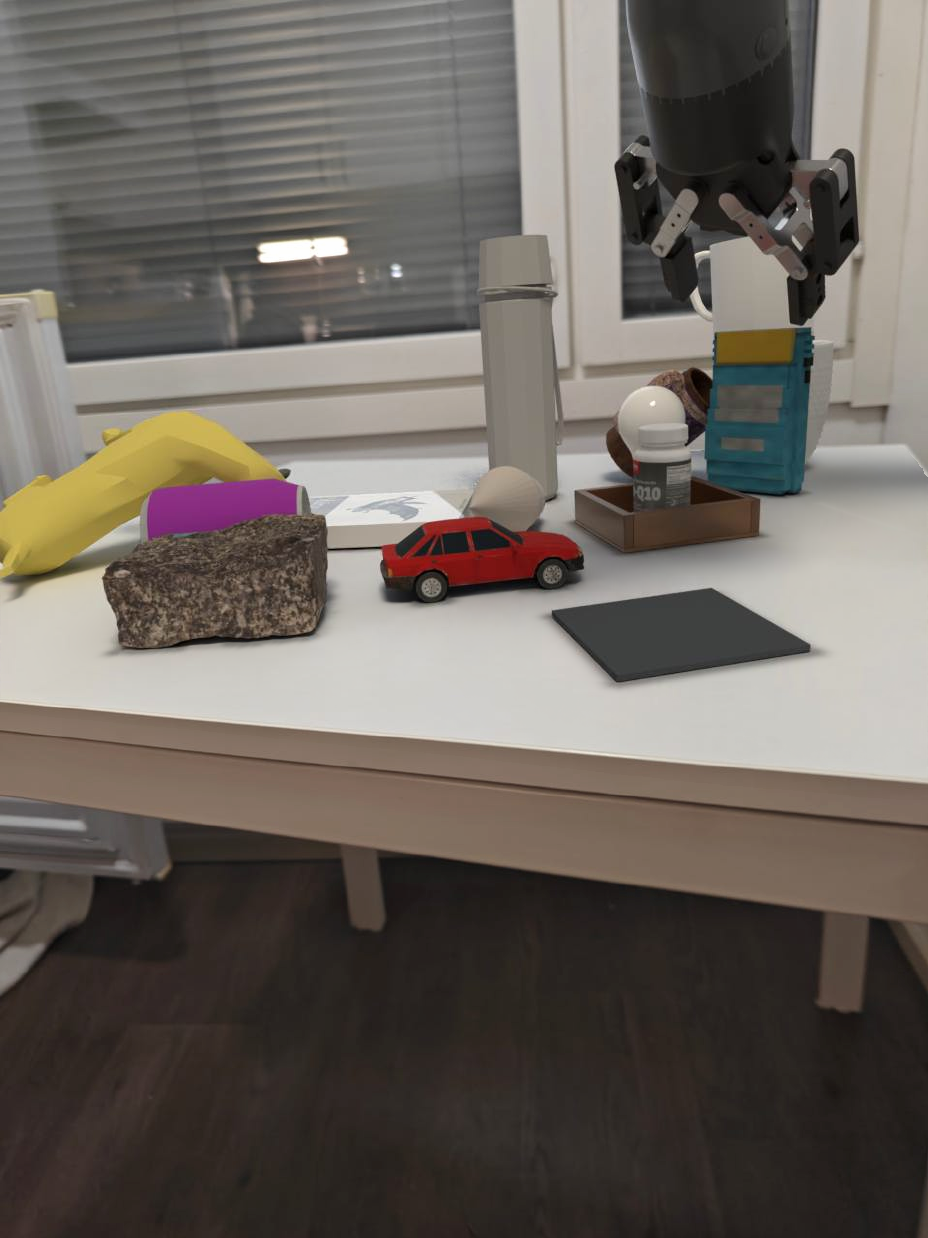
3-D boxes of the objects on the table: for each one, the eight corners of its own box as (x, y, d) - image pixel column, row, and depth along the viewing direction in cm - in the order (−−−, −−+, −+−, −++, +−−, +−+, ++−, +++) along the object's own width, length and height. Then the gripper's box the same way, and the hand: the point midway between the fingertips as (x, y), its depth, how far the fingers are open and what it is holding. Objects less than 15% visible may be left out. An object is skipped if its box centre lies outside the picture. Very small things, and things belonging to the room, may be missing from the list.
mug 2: (818, 333, 91) (818, 230, 88) (808, 339, 83) (807, 225, 80) (700, 347, 97) (696, 251, 94) (680, 354, 89) (674, 249, 85)
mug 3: (706, 456, 103) (709, 344, 99) (799, 451, 102) (806, 337, 98) (732, 478, 89) (736, 349, 85) (840, 472, 88) (850, 341, 84)
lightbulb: (613, 507, 81) (611, 390, 78) (623, 494, 87) (622, 384, 83) (681, 507, 79) (682, 387, 75) (687, 494, 85) (689, 380, 81)
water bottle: (522, 509, 83) (508, 233, 75) (474, 500, 89) (457, 244, 81) (589, 493, 88) (583, 233, 80) (539, 485, 94) (529, 243, 86)
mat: (711, 593, 55) (711, 587, 55) (810, 651, 45) (811, 644, 45) (551, 616, 53) (551, 610, 53) (617, 682, 43) (617, 675, 43)
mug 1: (638, 439, 98) (720, 372, 90) (655, 489, 95) (742, 424, 87) (576, 414, 91) (659, 340, 83) (593, 467, 88) (680, 395, 80)
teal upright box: (808, 489, 82) (819, 326, 77) (788, 497, 79) (797, 329, 74) (718, 481, 89) (723, 330, 84) (697, 488, 86) (700, 333, 81)
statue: (20, 660, 76) (119, 673, 62) (-81, 542, 70) (3, 527, 57) (229, 502, 91) (345, 484, 78) (160, 394, 86) (273, 353, 72)
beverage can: (165, 605, 67) (316, 592, 67) (131, 550, 60) (299, 536, 61) (172, 528, 71) (315, 516, 71) (141, 467, 64) (299, 455, 65)
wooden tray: (692, 508, 79) (693, 476, 78) (759, 535, 68) (760, 498, 67) (574, 522, 77) (573, 489, 76) (624, 553, 66) (623, 515, 65)
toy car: (591, 586, 59) (589, 515, 57) (385, 609, 57) (377, 537, 55) (568, 562, 65) (566, 498, 63) (381, 582, 63) (374, 517, 61)
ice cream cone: (463, 450, 64) (523, 451, 78) (418, 512, 67) (484, 503, 80) (522, 502, 63) (572, 494, 77) (475, 563, 66) (532, 544, 79)
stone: (321, 636, 53) (306, 545, 51) (110, 656, 53) (87, 565, 51) (339, 583, 63) (328, 505, 61) (163, 599, 63) (146, 522, 61)
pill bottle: (622, 525, 73) (621, 427, 70) (665, 516, 75) (665, 420, 72) (657, 534, 69) (658, 431, 66) (702, 525, 71) (704, 424, 68)
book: (208, 553, 75) (204, 531, 74) (261, 517, 88) (258, 499, 87) (463, 543, 72) (461, 520, 71) (480, 507, 85) (479, 488, 84)
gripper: (889, -4, 39) (879, 283, 52) (635, 5, 47) (680, 251, 60) (805, 96, 37) (816, 368, 50) (557, 88, 46) (621, 323, 58)
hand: (742, 304), depth 55 cm, fingers open, 8 cm apart
